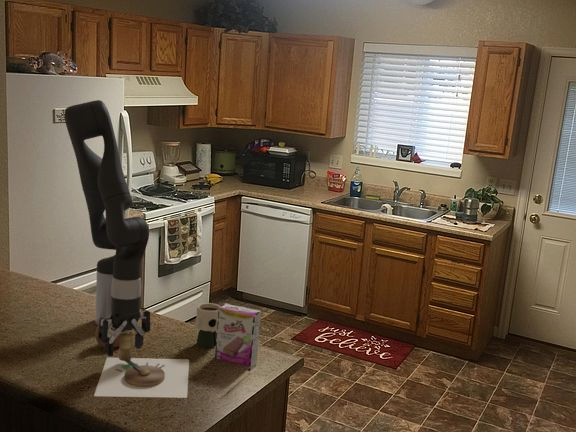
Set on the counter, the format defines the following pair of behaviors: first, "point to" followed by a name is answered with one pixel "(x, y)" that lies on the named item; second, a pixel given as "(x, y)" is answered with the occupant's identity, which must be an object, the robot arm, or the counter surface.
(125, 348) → the tuning dial
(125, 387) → the dial panel
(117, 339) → the onion
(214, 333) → the character mug
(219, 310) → the candy bar box
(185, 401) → the counter surface
